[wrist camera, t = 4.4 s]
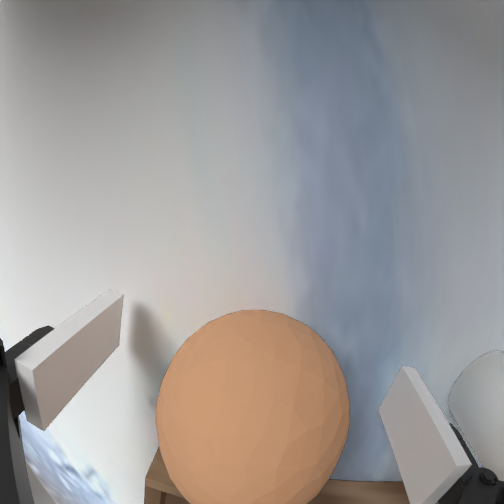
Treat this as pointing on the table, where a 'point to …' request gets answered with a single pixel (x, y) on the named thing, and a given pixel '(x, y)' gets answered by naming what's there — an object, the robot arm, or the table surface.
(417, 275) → the table surface
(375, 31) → the table surface
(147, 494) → the tray
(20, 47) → the table surface
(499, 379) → the shaker
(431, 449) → the robot arm
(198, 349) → the egg
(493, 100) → the table surface
